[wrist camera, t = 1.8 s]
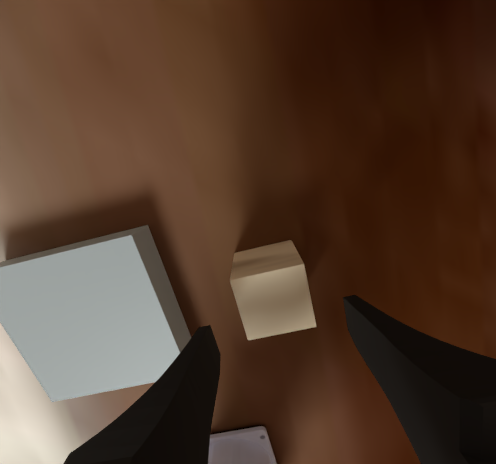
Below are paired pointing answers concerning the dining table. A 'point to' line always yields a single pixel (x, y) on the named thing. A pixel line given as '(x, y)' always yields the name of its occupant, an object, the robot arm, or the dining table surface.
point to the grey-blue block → (93, 314)
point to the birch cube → (271, 290)
